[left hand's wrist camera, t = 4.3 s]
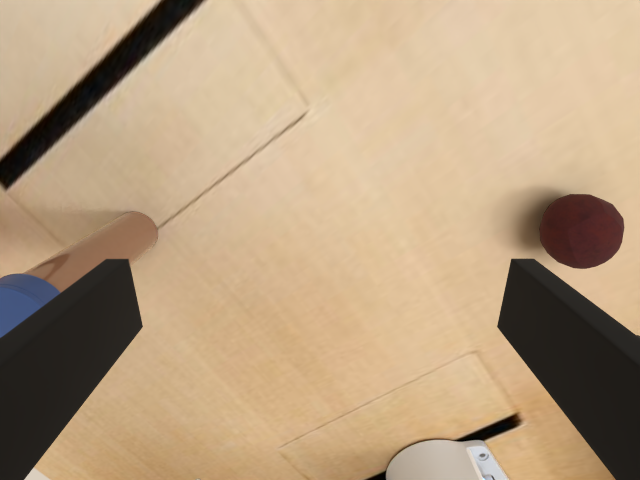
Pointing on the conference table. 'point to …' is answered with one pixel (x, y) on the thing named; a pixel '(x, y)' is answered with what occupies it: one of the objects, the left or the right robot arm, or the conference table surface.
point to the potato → (581, 230)
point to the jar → (99, 250)
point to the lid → (22, 298)
